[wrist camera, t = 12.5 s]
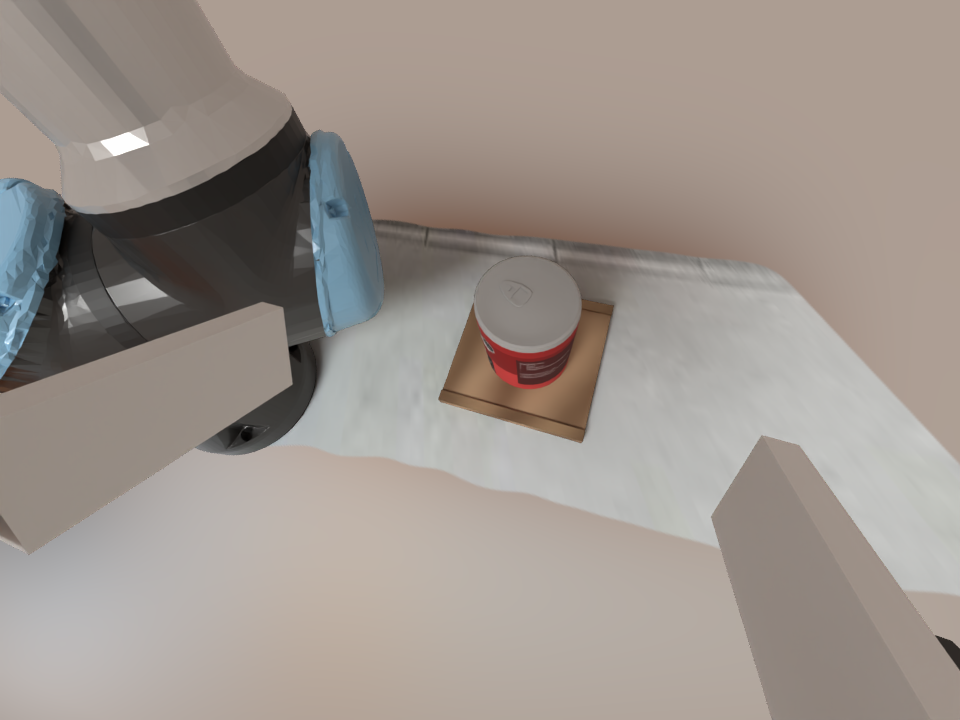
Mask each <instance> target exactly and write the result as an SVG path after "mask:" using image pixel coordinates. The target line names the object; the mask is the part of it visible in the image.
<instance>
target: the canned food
mask: <svg viewBox="0 0 960 720" xmlns="http://www.w3.org/2000/svg"><path fill="white" fill-rule="evenodd" d="M581 306H582V302H581V294H580V291H579V288H578V285H577V284H576V282H575V280H574V278H573V277H572V276H571V275H570V274H569V273H568V272H567V271H566V270H565V269H564V268H563V267H561V266H560V265H559V264H557V263H555V262H553V261H551V260H548V259H545V258H542V257H537V256H517V257H511V258H508V259H506V260H503V261H501V262H499V263H497V264H495V265H494V266H492V267H491V268H490V269H489V270H488V271H487V272H486V273H485V274H484V275H483V277H482V278H481V279H480V281H479V283H478V285H477V287H476V291H475V295H474V310H475V315H476V320H477V324H478V327H479V330H480V333H481V337H482V340H483V343H484V346H485V349H486V353H487V356H488V359H489V362H490V364H491V367H492V369H493V370H494V371H495V373H496V374H497V375H498V376H499V377H500V378H501V379H502V380H503V381H505V382H506V383H508V384H510V385H512V386H515V387H518V388H522V389H537V388H542V387H544V386H547V385H549V384H551V383H552V382H554V381H555V380H556V379H557V378H559V377H560V376H561V374H562V373H563V371H564V370H565V367H566V365H567V362H568V359H569V355H570V352H571V349H572V345H573V342H574V339H575V335H576V332H577V329H578V325H579V320H580V316H581V309H582V307H581Z"/></svg>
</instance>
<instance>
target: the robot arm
mask: <svg viewBox="0 0 960 720" xmlns="http://www.w3.org/2000/svg"><path fill="white" fill-rule="evenodd" d="M0 93H1V94H2V95H3V96H4V97H5V98H6V99H7V100H8V101H10V102H11V103H12V104H13V105H14V106H15V107H16V108H17V109H18V110H19V111H20V112H21V113H22V114H23V115H24V116H26V117H27V118H28V119H29V120H30V121H31V122H32V123H33V124H34V125H35V126H36V127H37V128H38V129H39V130H40V131H41V132H42V133H43V134H45V135H46V136H47V137H48V138H49V139H50V140H51V141H52V142H53V143H54V144H55V146H56V148H57V150H58V153H59V155H60V169H61V186H62V197H61V195H60V194H58V193H57V192H56V191H54V190H51V189H44V188H42V187H40V186H38V185H35V184H34V183H32V182H30V181H27V180H24V179H18V178H5V179H0V393H2V394H0V540H1V541H3V542H5V543H7V544H9V545H11V546H13V547H15V548H16V549H18V550H20V551H22V552H24V553H26V554H28V555H29V554H31V553H32V552H34V551H35V550H37V549H39V548H40V547H42V546H43V545H45V544H46V543H48V542H49V541H51V540H52V539H54V538H56V537H57V536H59V535H60V534H62V533H63V532H65V531H66V530H68V529H69V528H71V527H73V526H74V525H76V524H77V523H79V522H80V521H82V520H84V519H85V518H87V517H88V516H90V515H91V514H93V513H94V512H96V511H97V510H99V509H100V508H102V507H104V506H105V505H107V504H108V503H110V502H111V501H113V500H114V499H116V498H118V497H119V496H121V495H122V494H124V493H125V492H127V491H128V490H130V489H131V488H133V487H135V486H136V485H138V484H139V483H141V482H142V481H144V480H145V479H147V478H149V477H150V476H152V475H153V474H155V473H156V472H158V471H159V470H161V469H162V468H164V467H166V466H167V465H169V464H170V463H172V462H173V461H175V460H176V459H178V458H179V457H181V456H183V455H184V454H186V453H187V452H189V451H190V450H192V449H193V448H197V449H199V450H202V451H206V452H210V453H217V454H225V455H242V454H247V453H251V452H255V451H257V450H260V449H262V448H265V447H267V446H269V445H270V444H272V443H274V442H275V441H277V440H278V439H279V438H281V437H282V436H283V435H284V434H285V433H287V432H288V431H289V430H290V429H291V428H292V427H293V425H294V424H295V423H296V422H297V421H298V419H299V418H300V417H301V415H302V414H303V412H304V410H305V409H306V407H307V405H308V403H309V401H310V398H311V396H312V393H313V389H314V385H315V379H316V362H315V357H314V353H313V351H312V348H311V346H310V344H309V343H308V341H310V340H314V339H317V338H321V337H324V336H329V337H331V336H333V335H335V334H336V332H337V331H339V330H342V329H345V328H348V327H351V326H353V325H356V324H359V323H362V322H365V321H367V320H369V319H371V318H372V317H374V316H375V315H376V314H377V313H378V311H379V310H380V308H381V306H382V303H383V299H384V279H383V270H382V264H381V259H380V253H379V248H378V243H377V239H376V235H375V231H374V226H373V222H372V219H371V215H370V211H369V208H368V204H367V201H366V197H365V194H364V191H363V188H362V185H361V182H360V179H359V176H358V173H357V170H356V168H355V165H354V162H353V160H352V158H351V156H350V154H349V152H348V151H347V149H346V147H345V144H344V142H343V141H342V139H341V138H340V136H338V135H337V134H335V133H333V132H323V131H321V130H318V131H315V132H313V133H312V135H311V136H309V135H308V133H307V132H306V131H305V129H304V128H303V126H302V124H301V122H300V120H299V118H298V116H297V115H296V113H295V111H294V109H293V107H292V105H291V103H290V102H289V100H288V99H287V97H286V95H285V94H284V93H282V92H280V91H278V90H276V89H274V88H272V87H271V86H268V85H267V84H265V83H263V82H261V81H259V80H257V79H255V78H253V77H251V76H249V75H247V74H245V73H244V72H243V71H242V70H240V69H239V68H238V67H237V66H235V65H234V63H233V61H232V60H231V58H230V56H229V55H228V53H227V51H226V49H225V48H224V46H223V44H222V43H221V41H220V39H219V38H218V36H217V34H216V33H215V31H214V29H213V28H212V26H211V24H210V22H209V21H208V19H207V17H206V16H205V14H204V12H203V11H202V9H201V7H200V6H199V4H198V2H197V1H196V0H0ZM711 518H712V522H713V525H714V528H715V532H716V535H717V538H718V542H719V545H720V548H721V552H722V555H723V558H724V562H725V565H726V568H727V572H728V575H729V578H730V581H731V584H732V588H733V592H734V595H735V598H736V601H737V605H738V608H739V612H740V615H741V618H742V621H743V624H744V628H745V631H746V634H747V638H748V641H749V645H750V648H751V651H752V655H753V658H754V661H755V665H756V668H757V671H758V675H759V678H760V681H761V685H762V688H763V691H764V695H765V698H766V701H767V705H768V708H769V711H770V715H771V718H772V720H960V648H958V646H956V645H955V644H954V643H953V642H952V641H950V640H947V639H944V638H942V637H939V636H936V635H934V634H933V632H932V631H931V630H930V628H929V627H928V625H927V624H926V622H925V621H924V620H923V618H922V617H921V615H920V614H919V613H918V611H917V610H916V608H915V607H914V606H913V604H912V603H911V601H910V600H909V599H908V597H907V596H906V594H905V593H904V592H903V590H902V589H901V587H900V586H899V585H898V583H897V582H896V580H895V579H894V578H893V576H892V575H891V573H890V572H889V571H888V569H887V568H886V566H885V565H884V564H883V562H882V561H881V559H880V558H879V557H878V555H877V554H876V552H875V551H874V550H873V548H872V547H871V545H870V544H869V543H868V541H867V540H866V538H865V537H864V536H863V534H862V533H861V531H860V530H859V529H858V527H857V526H856V524H855V523H854V521H853V520H852V519H851V517H850V516H849V514H848V513H847V512H846V510H845V509H844V507H843V506H842V505H841V503H840V502H839V500H838V499H837V498H836V496H835V495H834V493H833V492H832V491H831V489H830V488H829V486H828V485H827V484H826V482H825V481H824V479H823V478H822V477H821V475H820V474H819V472H818V471H817V470H816V468H815V467H814V465H813V464H812V463H811V461H810V460H809V458H808V457H807V456H806V454H805V453H804V451H803V450H802V449H801V447H800V446H799V445H796V444H792V443H789V442H785V441H781V440H777V439H774V438H770V437H766V436H761V437H760V439H759V440H758V442H757V444H756V445H755V447H754V449H753V450H752V452H751V453H750V455H749V457H748V458H747V460H746V461H745V463H744V465H743V466H742V468H741V469H740V471H739V473H738V474H737V476H736V477H735V479H734V481H733V482H732V484H731V485H730V487H729V489H728V490H727V492H726V493H725V495H724V497H723V498H722V500H721V501H720V503H719V505H718V506H717V508H716V509H715V511H714V513H713V514H712V516H711Z"/></svg>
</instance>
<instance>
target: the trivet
mask: <svg viewBox="0 0 960 720" xmlns="http://www.w3.org/2000/svg"><path fill="white" fill-rule="evenodd" d="M581 302H582V306H581V307H582V309H581V316H580V320H579V325H578V329H577V332H576V335H575V339H574V342H573V345H572V349H571V352H570V355H569V359H568V362H567V365H566V367H565V370H564V371H563V373H562V374H561V376H560V377H559V378H557V379H556V380H555V381H554V382H552V383H551V384H549V385H547V386H544V387H542V388H537V389H522V388H518V387H515V386H512V385H510V384H508V383H506V382H505V381H503V380H502V379H501V378H500V377H499V376H498V375H497V374H496V373H495V371H494V370H493V369H492V367H491V364H490V362H489V359H488V356H487V353H486V349H485V346H484V343H483V340H482V337H481V333H480V330H479V327H478V324H477V320H476V315H475V310H474V303H473V306H472V309H471V312H470V314H469V317H468V320H467V323H466V326H465V328H464V331H463V334H462V337H461V340H460V342H459V345H458V348H457V351H456V354H455V356H454V359H453V362H452V365H451V368H450V370H449V373H448V376H447V379H446V382H445V384H444V387H443V390H441V393H440V396H439V398H438V400H439V401H440V402H443V403H446V404H449V405H453V406H456V407H460V408H463V409H467V410H470V411H473V412H477V413H480V414H484V415H487V416H490V417H494V418H497V419H501V420H504V421H507V422H511V423H514V424H518V425H521V426H524V427H528V428H531V429H535V430H538V431H542V432H545V433H548V434H552V435H555V436H559V437H562V438H565V439H569V440H572V441H576V442H579V443H582V442H583V437H584V433H585V427H586V423H587V419H588V414H589V410H590V405H591V401H592V397H593V392H594V388H595V384H596V379H597V375H598V371H599V366H600V362H601V358H602V353H603V349H604V344H605V340H606V336H607V331H608V327H609V323H610V318H611V315H612V311H613V307H614V306H612V305H607V304H603V303H598V302H593V301H588V300H583V299H581Z"/></svg>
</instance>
